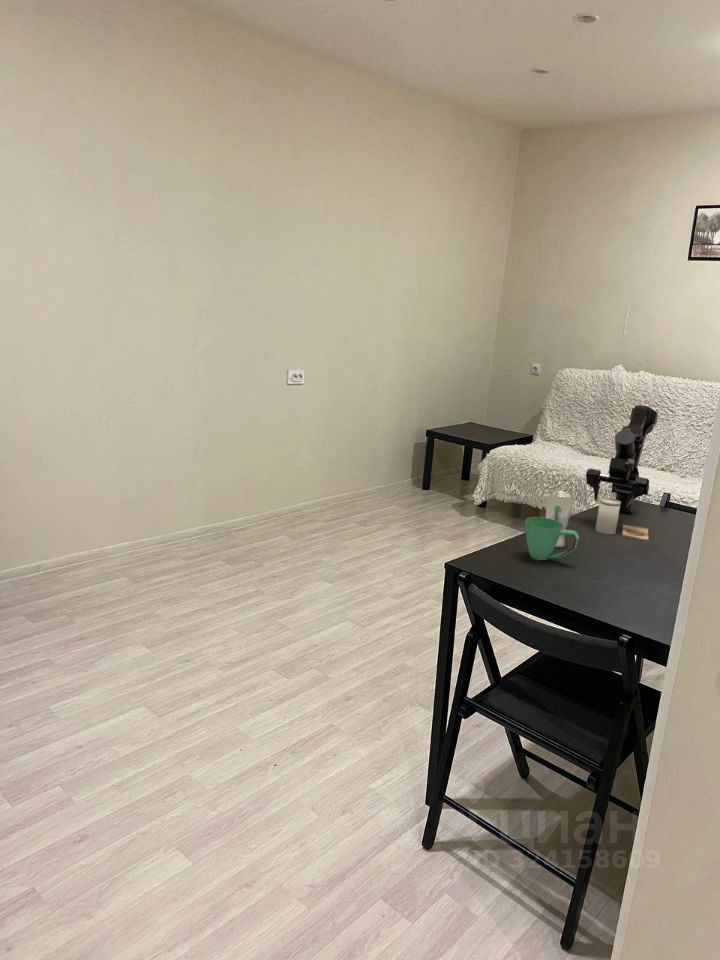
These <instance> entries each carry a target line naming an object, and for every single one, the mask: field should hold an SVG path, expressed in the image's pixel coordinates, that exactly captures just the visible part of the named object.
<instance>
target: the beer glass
mask: <svg viewBox="0 0 720 960" xmlns="http://www.w3.org/2000/svg"><path fill="white" fill-rule="evenodd" d="M573 496H574V495H573V494H572V493H570V492H567V491H563V490H551V491H549V492H548V498H547V501H546V502H547V503H546V507H545V518H549V519H553V520H556V521H559V522H560V523H562V525H563V528H562V530H567V528H568V524H569V521H570V517H571V514H572V511H573V510H572V508H573ZM565 537H566V535H560V536H559V538H558V541H557V544H556V546H555V548H563V547H565V545H566V543H565V542H566V541H565V540H566V538H565Z"/></svg>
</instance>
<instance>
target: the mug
mask: <svg viewBox="0 0 720 960" xmlns="http://www.w3.org/2000/svg"><path fill="white" fill-rule="evenodd" d="M524 526H525V534H526V535H525V536H526V537H525V538H526V543H527V544H526V545H527V549H528V553H529V557H530V556H531V557H532V558H531V557H530V558H531V559H533V558H534V559H533V560H535V559H537V560H536V561H540V560H546V561H548V560H551V559H556V558H564V557H565V556H567V555H569V554H570V553H572V552H574V551H575V550H576V549H577V545H578V543H579V540H580V536H579V534H578V532H577V531H576V530H572V529H571V530H570V529H566V530H562V528H563V525H562V523H560V522H559V521H556V520H553V519H549V518H546V517H542V516H541V517H540V516H533V517H531V516H530V517H527V518H526V519H525V525H524ZM560 535H565V536H570V537H573V539H574V540H573V544H572V545H571V546H570V547H568V548H567V549H566V550H564V551H563V552H558V553H553V552H554V550H555V548H556V547H555V546H556V544H557V541H558V538H559V536H560Z"/></svg>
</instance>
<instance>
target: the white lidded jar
mask: <svg viewBox="0 0 720 960" xmlns="http://www.w3.org/2000/svg"><path fill="white" fill-rule="evenodd" d="M620 504H621V502H620V501H619V500H616V499H615V498H612V497H601V498H599V505H598V510H597V517H596V523H595V528H594V529H595V532H597V533H600V534H602V535H608V534H610V535H611V534H613V535H616V533H617V526H618V520H619V516H620V515H619V514H620V512H619V509H620ZM611 536H612V535H611Z"/></svg>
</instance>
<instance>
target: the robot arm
mask: <svg viewBox="0 0 720 960" xmlns="http://www.w3.org/2000/svg"><path fill="white" fill-rule="evenodd" d="M658 418H659V416H658V411H656V410H654V409H652V407H650V406H648V405H641V404H637V405H635V406H634V407H633V408H632V409H631V413H630V418H629V419H630V421H629V423H628V424H627V425H626V426H623V427H622V429H621V430H619V431H617V433H616V434H615V435H614V445H615V446H614V447H615V448H614V449H615V456H614V457H611V458H610V462H609V466H608V471H607V473H608V475H606V474H602V472H601V469H594V468H588V469H587V470H586V472H585V480H586V485H589V487H591V488H592V489H593V492H594V495H593V496H594V502H597V500H598V497H599V492H600V485H601V482H604V483H610V484H612V485H611V493H614V494H615V498H614V499H616V500H619V501H620V502H621V504H620V509H619V513H622V514H629V515H633V511H634V510H633V505H634V504H633V503H634V501H635V500H636V499H637V498H639V497H643V496H648V495H649V491H650V480H649V478H646V477H641V476H640V471H639V468H638V466H639V463H640V460H641V456H642V452H643V448H644V445H645V441H646V438H647V435H649V434H650V433H652V431H653V429H654V426H656V425H657V423H658Z"/></svg>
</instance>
